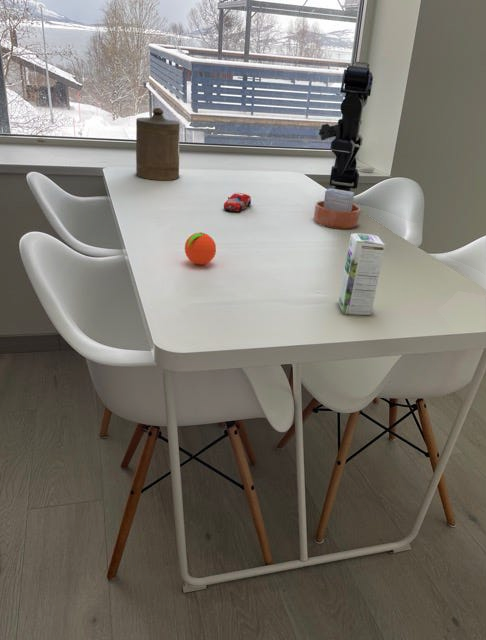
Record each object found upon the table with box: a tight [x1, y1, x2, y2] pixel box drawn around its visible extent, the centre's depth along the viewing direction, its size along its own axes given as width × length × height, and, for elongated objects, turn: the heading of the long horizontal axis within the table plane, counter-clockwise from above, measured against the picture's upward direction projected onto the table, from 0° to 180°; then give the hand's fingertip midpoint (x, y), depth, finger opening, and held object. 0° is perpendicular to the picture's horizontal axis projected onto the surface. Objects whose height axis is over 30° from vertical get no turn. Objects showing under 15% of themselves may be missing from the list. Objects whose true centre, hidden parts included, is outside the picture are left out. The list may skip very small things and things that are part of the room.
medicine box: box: [323, 187, 355, 212], centre depth 171 cm, size 8×4×9 cm, turn 71°
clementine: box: [184, 231, 217, 266], centre depth 128 cm, size 8×7×7 cm
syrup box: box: [338, 233, 386, 316], centre depth 112 cm, size 6×6×14 cm
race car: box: [223, 192, 252, 213], centre depth 177 cm, size 13×5×4 cm, turn 161°
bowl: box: [313, 200, 361, 230], centre depth 172 cm, size 13×13×5 cm
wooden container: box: [135, 107, 181, 181], centre depth 201 cm, size 15×15×22 cm
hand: (342, 173), depth 174 cm, fingers open, 9 cm apart
